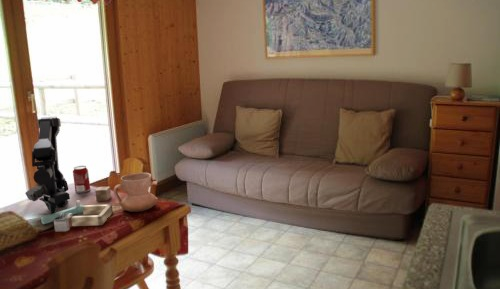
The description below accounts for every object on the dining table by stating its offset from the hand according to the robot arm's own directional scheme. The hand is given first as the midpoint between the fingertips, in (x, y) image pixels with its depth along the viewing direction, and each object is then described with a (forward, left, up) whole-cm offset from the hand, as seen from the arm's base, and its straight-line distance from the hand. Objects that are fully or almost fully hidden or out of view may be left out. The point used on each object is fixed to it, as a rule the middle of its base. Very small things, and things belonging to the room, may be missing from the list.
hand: (52, 214), depth 170 cm
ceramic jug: (+32, +8, -2) cm, 33 cm away
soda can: (-1, +34, -2) cm, 34 cm away
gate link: (+5, -1, -1) cm, 5 cm away
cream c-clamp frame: (+16, -2, -2) cm, 17 cm away
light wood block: (+13, +22, -2) cm, 25 cm away
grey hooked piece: (+9, -3, -2) cm, 10 cm away
